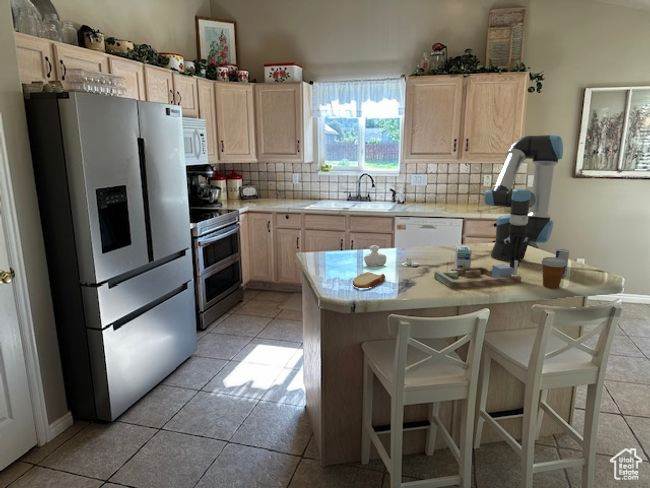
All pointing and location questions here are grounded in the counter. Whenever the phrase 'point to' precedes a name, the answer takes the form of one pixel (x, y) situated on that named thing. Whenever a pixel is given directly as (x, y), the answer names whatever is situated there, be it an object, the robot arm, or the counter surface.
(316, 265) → the counter surface
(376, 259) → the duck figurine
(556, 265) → the disposable coffee cup
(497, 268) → the cube
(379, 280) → the bread slice
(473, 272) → the trap lane
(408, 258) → the teacup and saucer
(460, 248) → the light bulb box
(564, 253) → the energy drink
